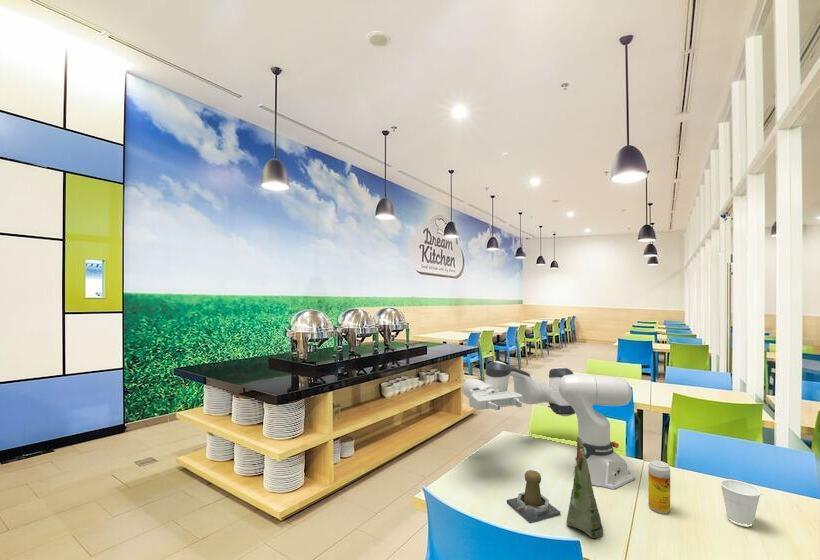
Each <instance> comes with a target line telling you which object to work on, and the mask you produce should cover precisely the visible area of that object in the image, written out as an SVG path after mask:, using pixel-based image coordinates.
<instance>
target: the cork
mask: <svg viewBox="0 0 820 560" xmlns="http://www.w3.org/2000/svg"><path fill="white" fill-rule="evenodd" d="M524 479H525V488H524V492H525V495H524V503H525V504H527V505H531V506H535V507H538V506H542V500H541V495H542V494H541V486H540V485H541V484H540V483H541V481H542V476H541V473H540V472H538V471H537V470H531V469H529V470H527V471H525V474H524Z"/></svg>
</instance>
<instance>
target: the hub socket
mask: <svg viewBox="0 0 820 560" xmlns="http://www.w3.org/2000/svg"><path fill="white" fill-rule="evenodd" d="M524 495H525V491H524V492H519V493H518V495H517V497H513V498H509V499H506V504H507V505H508V506H509V507H511V509H512V510H514V511H515V512H516V513H518V514H519V515H520V516H521V517H522V518H523V519H524V520H525V521H527V522H528V523H529V524H532V523H535V522H540V521H543V520H547V519H552V518H555V517H558V516H561V511H560V510H559V509H557V508H556V507H555V506H553V505H552V504H551V503H550V499H548V498H547V497H546V496H544V495H543V494H541V500H542V506H538V507H535V506H531V505H527V504H525V503H524Z"/></svg>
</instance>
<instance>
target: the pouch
mask: <svg viewBox="0 0 820 560" xmlns="http://www.w3.org/2000/svg"><path fill="white" fill-rule="evenodd" d="M576 456H577V457H575V462H576V461H577V465H576V466H575V468H574V470H575V475H574V477H573V482H572V483H573V486H572V489H571V493H570V500H569V505H568V510H567V511H568V512H567V518H566V525H567V526H569V527H573V528H575V529H577V530H580V531H581V532H584V533H585V534H587V535H588V536H589V537H591V538H592V539H594V538H595V539H596V538H599V537H600V536H602V535H603V533H604V528H603V525H602V522H601V521H602V520H601V515H600V513H599V508H598V504H597V500H596V498H595V492H594V488H593V485H592V483H591V477H590V473H589V468H588V464H587V460H586V456H585V452H584V446H583V443H582V441H581V439H580V438H579V439H578V448H576Z"/></svg>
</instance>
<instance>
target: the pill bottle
mask: <svg viewBox="0 0 820 560" xmlns="http://www.w3.org/2000/svg"><path fill="white" fill-rule="evenodd" d="M669 465H670V464H669V463H667V462H665V461H663V460H658V459H652V460H650V461H649V463H648V493H647V494H648V495H647V496H648V497H647V498H648V503H647V504H648V506H649V507H650V509H651V510H652V511H653V512H655V513H658V514H662V515H663V514H664V515H666V514H668V513H669V512H670V511H671V468H670V466H669Z"/></svg>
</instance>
